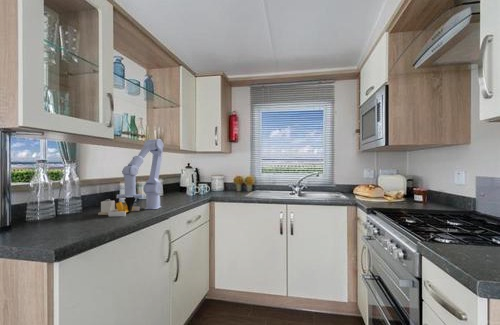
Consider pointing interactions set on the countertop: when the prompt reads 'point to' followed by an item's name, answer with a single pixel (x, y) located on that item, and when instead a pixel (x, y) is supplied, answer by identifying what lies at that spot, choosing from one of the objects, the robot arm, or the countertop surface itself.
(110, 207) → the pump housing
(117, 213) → the parts bay
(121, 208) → the pipe clamp
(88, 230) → the countertop surface
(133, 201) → the robot arm
